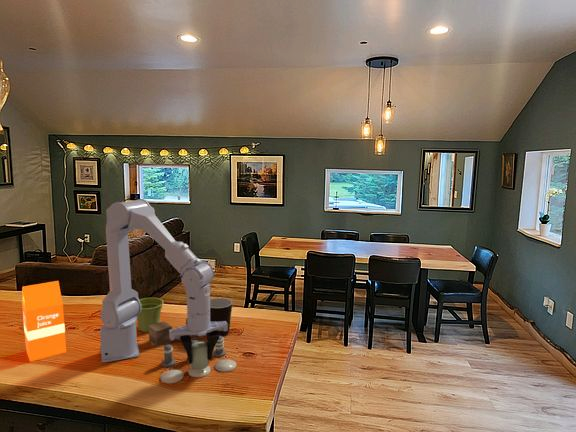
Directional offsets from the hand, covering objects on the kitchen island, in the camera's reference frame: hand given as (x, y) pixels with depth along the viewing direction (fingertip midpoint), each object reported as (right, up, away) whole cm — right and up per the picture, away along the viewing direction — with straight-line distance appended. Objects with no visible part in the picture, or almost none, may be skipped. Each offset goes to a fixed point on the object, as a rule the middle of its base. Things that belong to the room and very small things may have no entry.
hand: (199, 360), depth 102 cm
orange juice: (-46, -1, +9) cm, 46 cm away
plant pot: (-22, +1, +25) cm, 33 cm away
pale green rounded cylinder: (0, -2, 0) cm, 2 cm away
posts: (-3, -2, +7) cm, 8 cm away
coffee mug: (+1, 0, +24) cm, 24 cm away
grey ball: (-10, 0, +18) cm, 20 cm away
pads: (0, -3, 0) cm, 3 cm away
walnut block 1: (-15, 0, +16) cm, 23 cm away
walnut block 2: (-6, 0, +21) cm, 22 cm away
